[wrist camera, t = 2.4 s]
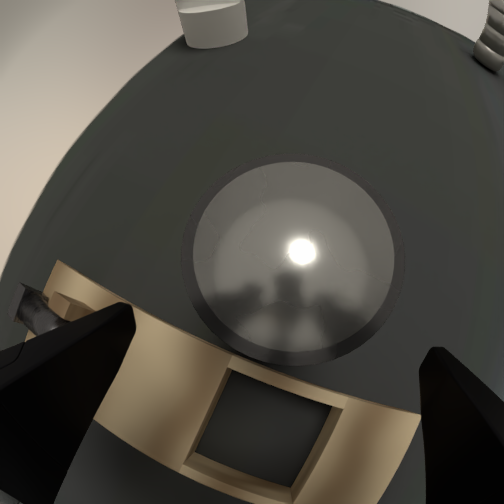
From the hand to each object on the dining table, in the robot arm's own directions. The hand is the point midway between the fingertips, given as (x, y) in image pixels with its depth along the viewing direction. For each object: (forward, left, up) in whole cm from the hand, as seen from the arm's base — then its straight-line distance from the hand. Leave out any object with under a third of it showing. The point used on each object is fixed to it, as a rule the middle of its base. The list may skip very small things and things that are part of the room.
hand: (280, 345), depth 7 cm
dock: (+3, +5, -10) cm, 12 cm away
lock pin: (+13, +5, -7) cm, 16 cm away
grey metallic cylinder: (0, -2, -10) cm, 10 cm away
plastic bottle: (-23, -56, -10) cm, 61 cm away
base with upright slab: (+21, -34, -10) cm, 42 cm away
